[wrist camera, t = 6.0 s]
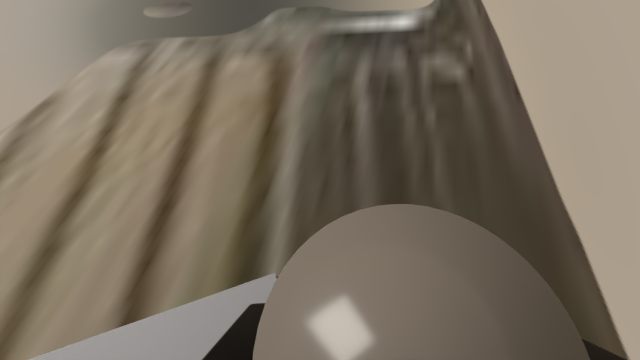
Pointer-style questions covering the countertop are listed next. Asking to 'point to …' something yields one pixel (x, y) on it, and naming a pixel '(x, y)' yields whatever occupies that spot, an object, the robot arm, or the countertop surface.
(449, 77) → the countertop surface
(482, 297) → the terracotta jar
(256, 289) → the gray board
